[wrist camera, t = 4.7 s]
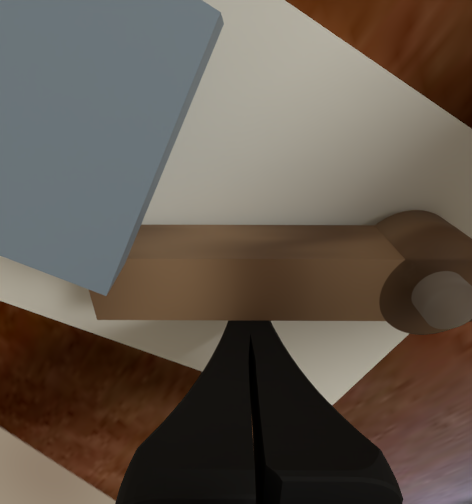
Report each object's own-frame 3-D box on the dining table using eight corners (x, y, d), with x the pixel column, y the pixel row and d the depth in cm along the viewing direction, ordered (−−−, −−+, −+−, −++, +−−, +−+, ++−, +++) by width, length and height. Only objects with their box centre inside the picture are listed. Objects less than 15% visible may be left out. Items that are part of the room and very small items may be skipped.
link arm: (467, 209, 11) (543, 256, 8) (435, 292, 13) (489, 352, 10) (104, 208, 11) (61, 254, 8) (122, 291, 13) (91, 351, 10)
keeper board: (548, 185, 12) (766, 266, 7) (320, 404, 18) (351, 526, 13) (-35, -212, 7) (-584, -780, 2) (-66, 265, 14) (-232, 373, 9)
